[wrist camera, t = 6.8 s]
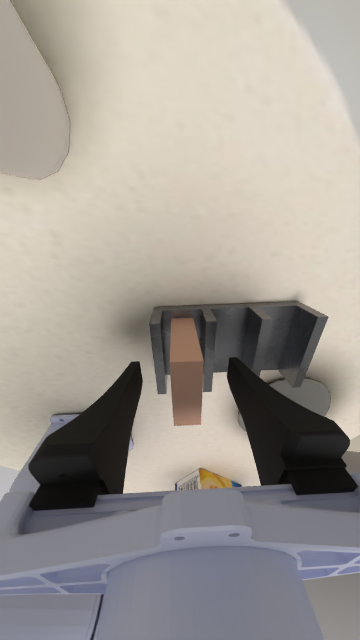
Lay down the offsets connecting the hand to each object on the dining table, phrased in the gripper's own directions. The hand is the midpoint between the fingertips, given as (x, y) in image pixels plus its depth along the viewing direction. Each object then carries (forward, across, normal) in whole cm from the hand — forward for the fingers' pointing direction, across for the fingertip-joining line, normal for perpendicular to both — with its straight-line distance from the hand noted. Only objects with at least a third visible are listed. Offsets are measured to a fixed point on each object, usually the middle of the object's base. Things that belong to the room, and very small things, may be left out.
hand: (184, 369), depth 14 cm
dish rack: (+4, -4, 0) cm, 6 cm away
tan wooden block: (+3, 0, 0) cm, 3 cm away
